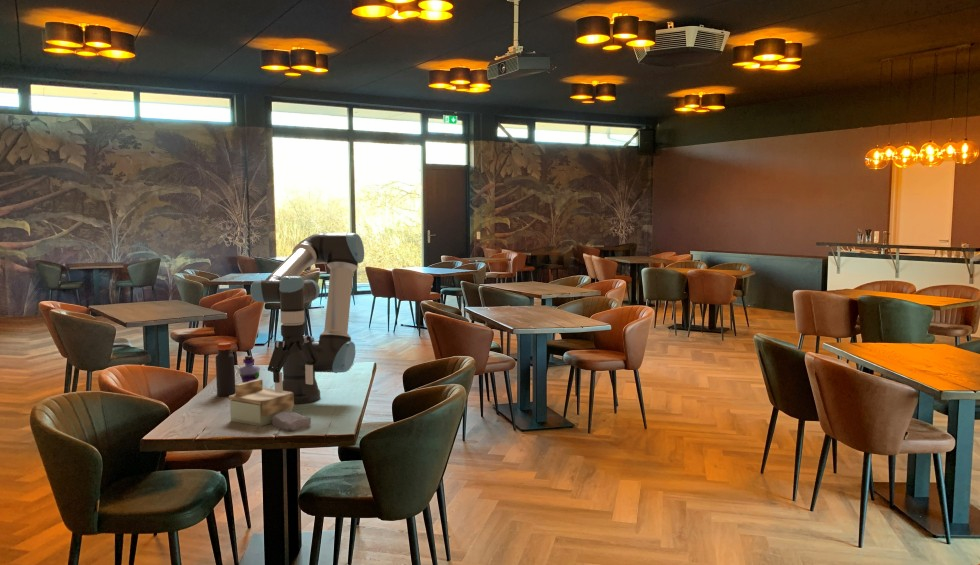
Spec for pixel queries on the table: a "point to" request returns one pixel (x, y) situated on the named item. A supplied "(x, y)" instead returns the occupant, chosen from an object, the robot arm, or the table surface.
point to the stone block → (290, 421)
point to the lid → (263, 397)
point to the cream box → (250, 413)
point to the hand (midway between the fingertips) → (294, 388)
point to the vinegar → (225, 370)
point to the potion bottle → (249, 370)
